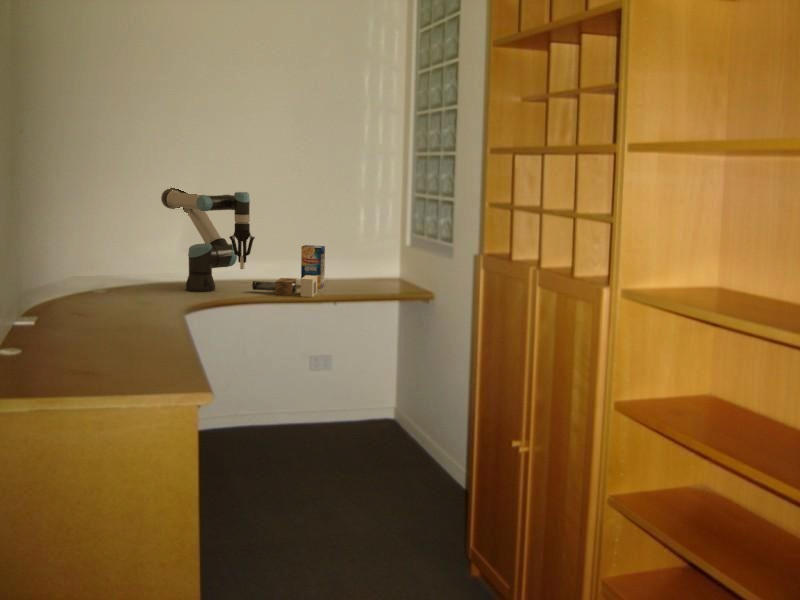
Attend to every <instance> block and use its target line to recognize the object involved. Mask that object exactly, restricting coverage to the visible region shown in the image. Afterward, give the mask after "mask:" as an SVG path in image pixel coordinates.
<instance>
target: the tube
mask: <svg viewBox="0 0 800 600" xmlns="http://www.w3.org/2000/svg"><path fill="white" fill-rule="evenodd" d="M275 282H276V281H263V280H262V281H259V280H253V281H252V285H251V286H252V290H254V291H274V292H275ZM297 285H298V284H297V282H296V283H292V292H296V293H297V289H298V288H297Z"/></svg>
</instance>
